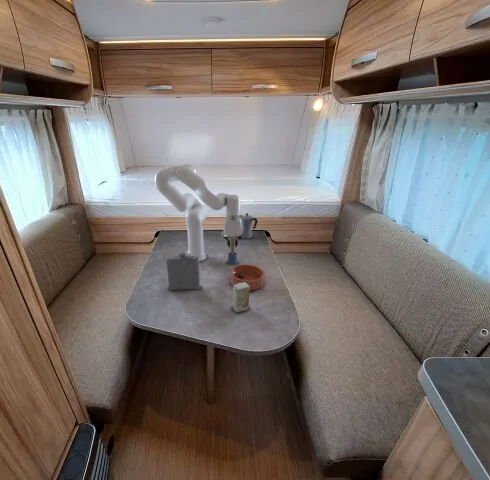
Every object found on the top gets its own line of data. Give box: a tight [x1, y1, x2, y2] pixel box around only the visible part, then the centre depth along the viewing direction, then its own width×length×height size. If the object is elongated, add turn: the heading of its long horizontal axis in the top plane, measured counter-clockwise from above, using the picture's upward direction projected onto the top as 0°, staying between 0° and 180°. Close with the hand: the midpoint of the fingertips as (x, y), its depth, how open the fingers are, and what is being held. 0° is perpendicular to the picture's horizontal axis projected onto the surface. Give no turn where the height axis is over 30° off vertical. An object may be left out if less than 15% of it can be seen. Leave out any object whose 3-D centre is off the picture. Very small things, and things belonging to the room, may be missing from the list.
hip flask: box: [165, 250, 201, 291], centre depth 134 cm, size 16×4×20 cm, turn 92°
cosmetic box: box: [231, 282, 251, 313], centre depth 119 cm, size 6×4×12 cm
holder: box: [227, 251, 238, 265], centre depth 160 cm, size 5×6×6 cm
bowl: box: [230, 263, 265, 291], centre depth 140 cm, size 17×17×6 cm
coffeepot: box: [240, 212, 259, 239], centre depth 196 cm, size 15×9×18 cm, turn 51°
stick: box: [230, 236, 235, 256], centre depth 158 cm, size 2×2×16 cm
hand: (232, 246), depth 157 cm, fingers open, 3 cm apart
